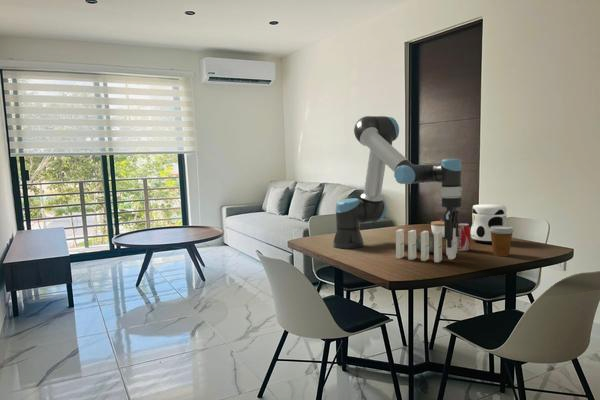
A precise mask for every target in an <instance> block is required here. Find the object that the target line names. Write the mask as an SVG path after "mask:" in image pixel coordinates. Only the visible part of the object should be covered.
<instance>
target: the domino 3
mask: <svg viewBox="0 0 600 400" xmlns="http://www.w3.org/2000/svg"><path fill="white" fill-rule="evenodd" d="M420 232H421V231H420ZM429 233H430V230H427V231H426V230H423V232H421V251H420V261H422V262H426V261H427V260H429V259H430V253H429Z"/></svg>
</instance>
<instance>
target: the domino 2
mask: <svg viewBox="0 0 600 400" xmlns="http://www.w3.org/2000/svg"><path fill="white" fill-rule="evenodd" d="M416 240H417V230H416V229H411V230H408V231H407V244H408V245H407V246H408V247H407V251H408V252H407V254H408V255H407V256H408V257H407V259H408V260H409V261H410V260H415V259H416V258H417V250H416Z"/></svg>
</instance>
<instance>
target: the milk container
mask: <svg viewBox="0 0 600 400" xmlns="http://www.w3.org/2000/svg"><path fill="white" fill-rule="evenodd" d="M507 210H508V209H507V205H504V204H495V203H494V204H492V203H489V204H488V203H487V204H485V203H484V204H483V203H481V204H474V205H472V224H471V226H470V238H471V239H472V241H475V242H478V243H485V244H492V240H491V233H490V230H489V229H490V227H491V226H508V225H507V218H508V217H507V212H508V211H507Z"/></svg>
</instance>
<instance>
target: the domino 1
mask: <svg viewBox="0 0 600 400" xmlns="http://www.w3.org/2000/svg"><path fill="white" fill-rule="evenodd" d="M403 257H405V229H403V228H399V229H397V230H395V259H402V258H403Z"/></svg>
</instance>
